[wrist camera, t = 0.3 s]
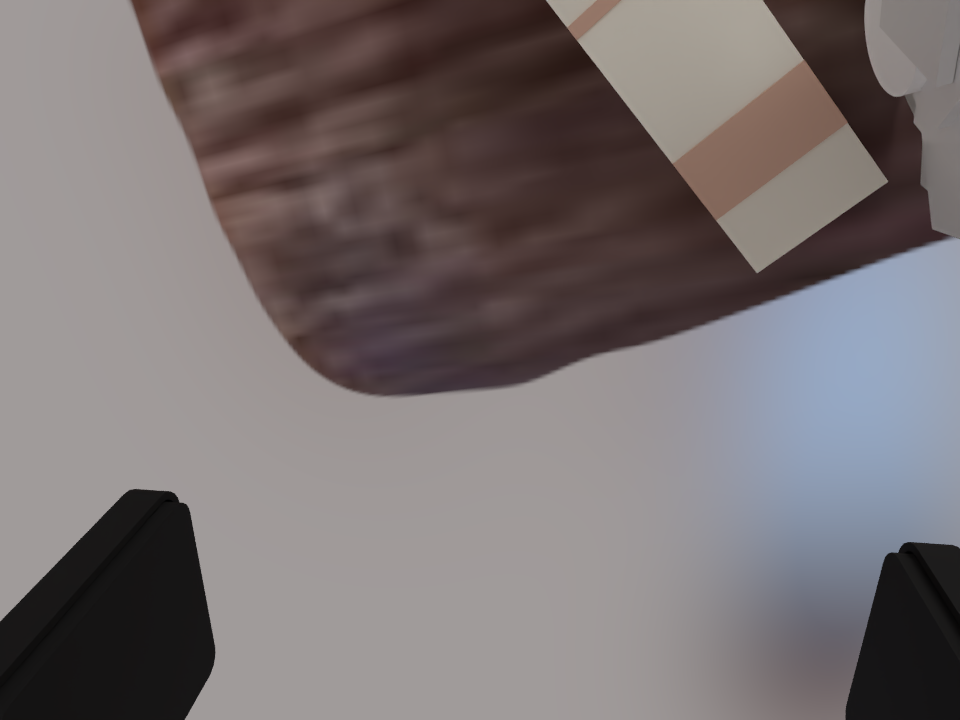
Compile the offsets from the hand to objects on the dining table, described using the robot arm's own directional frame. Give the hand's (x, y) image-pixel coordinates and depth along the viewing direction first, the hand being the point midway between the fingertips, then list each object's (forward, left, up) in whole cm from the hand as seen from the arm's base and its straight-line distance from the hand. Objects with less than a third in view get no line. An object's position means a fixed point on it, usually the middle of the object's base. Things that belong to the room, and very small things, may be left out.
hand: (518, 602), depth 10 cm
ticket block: (-8, 0, -29) cm, 30 cm away
